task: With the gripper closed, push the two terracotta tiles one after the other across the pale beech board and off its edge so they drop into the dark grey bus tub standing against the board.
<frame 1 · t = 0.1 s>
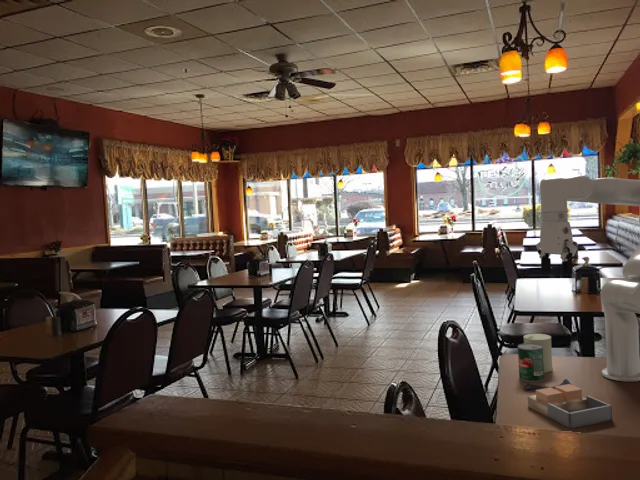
hand: (556, 272, 171), 37 cm above the table, tool pointing down, fingers open, 9 cm apart
can: (538, 369, 193), on the table
board: (557, 408, 157), on the table
tile b: (549, 399, 155), point 3 cm above the table, touching board
canned tomato: (531, 379, 183), on the table
bus tub: (579, 418, 148), on the table
tile a: (568, 396, 157), point 3 cm above the table, touching board
bracket: (549, 392, 172), on the table
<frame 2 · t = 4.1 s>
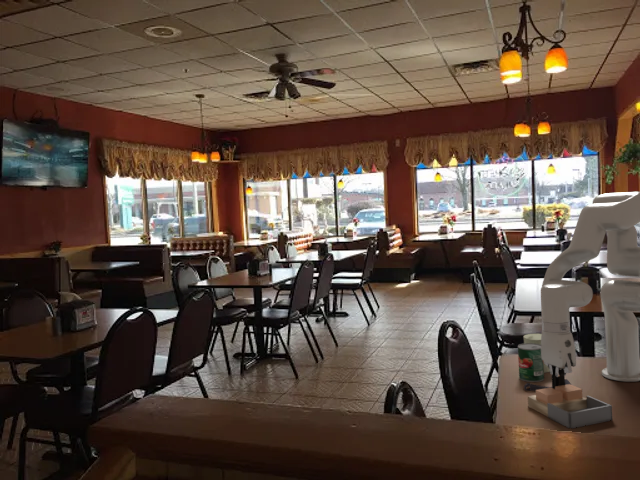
hand: (558, 388, 161), 4 cm above the table, tool pointing down, fingers closed
tile a: (568, 396, 157), point 3 cm above the table, touching gripper
everything else where it was.
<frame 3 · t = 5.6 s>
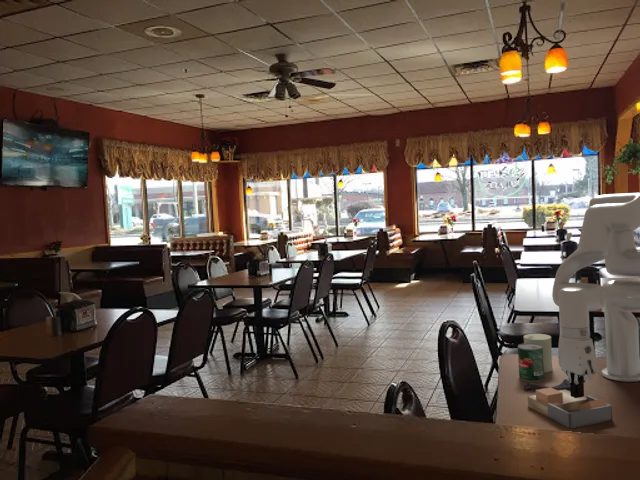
hand: (577, 396, 153), 4 cm above the table, tool pointing down, fingers closed
tile a: (590, 402, 149), point 4 cm above the table, tilted 147°, touching bus tub
everything else where it was.
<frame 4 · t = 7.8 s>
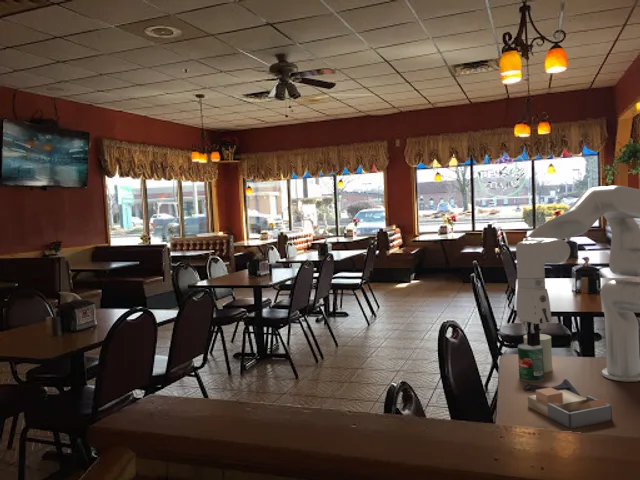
hand: (533, 345, 161), 17 cm above the table, tool pointing down, fingers closed
nothing on the table moved.
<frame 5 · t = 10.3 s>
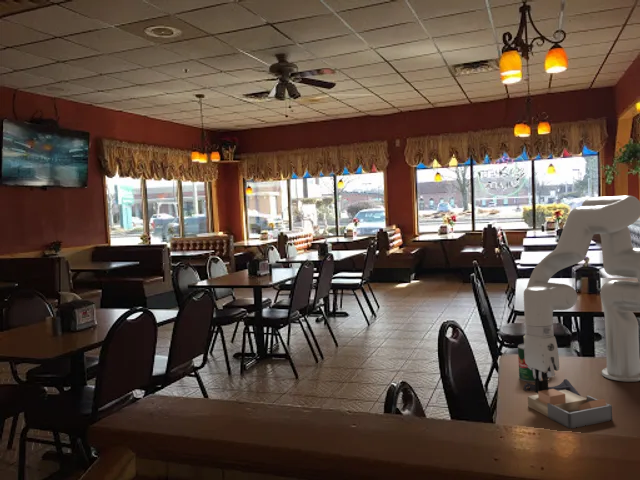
hand: (541, 392, 158), 4 cm above the table, tool pointing down, fingers closed
tile b: (551, 401, 154), point 3 cm above the table, touching gripper
everything else where it was.
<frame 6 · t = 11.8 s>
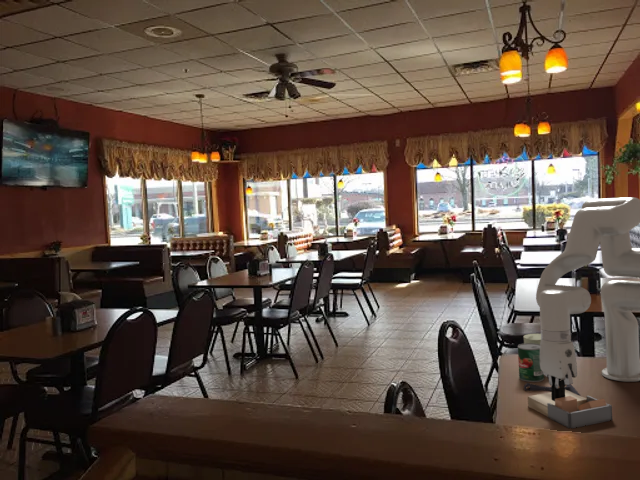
hand: (558, 400, 151), 4 cm above the table, tool pointing down, fingers closed
tile b: (562, 406, 150), point 3 cm above the table, tilted 92°, touching bus tub, gripper
everything else where it was.
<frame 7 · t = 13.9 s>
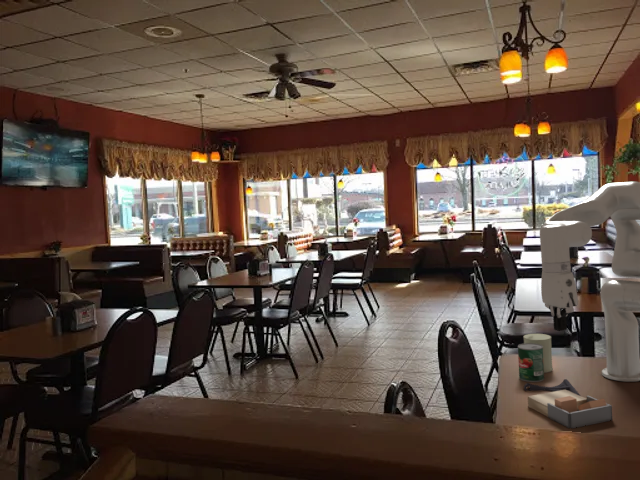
hand: (560, 329, 159), 22 cm above the table, tool pointing down, fingers closed
tile b: (562, 406, 150), point 3 cm above the table, tilted 90°, touching bus tub
everything else where it was.
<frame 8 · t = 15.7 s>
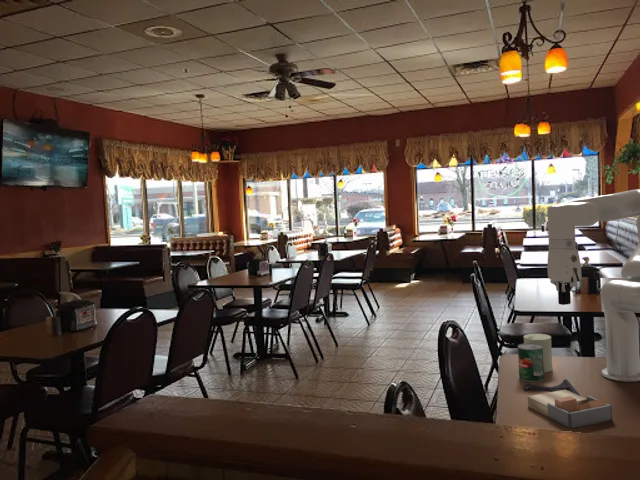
hand: (564, 304, 169), 27 cm above the table, tool pointing down, fingers closed
nothing on the table moved.
at the end: tile a inside the target area (3.6 cm from its centre), point 4.0 cm above the table; tile b inside the target area (4.7 cm from its centre), point 3.0 cm above the table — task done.
